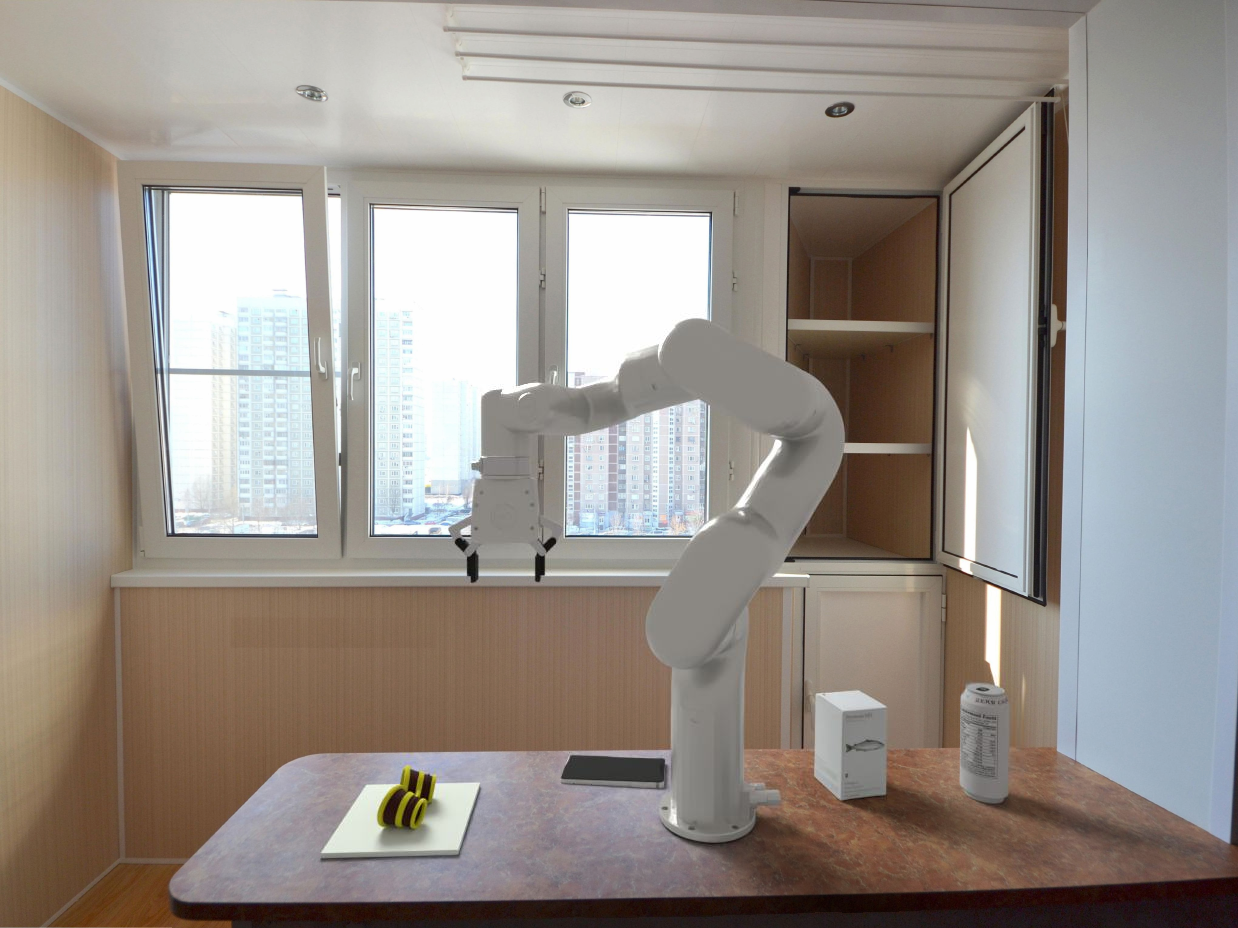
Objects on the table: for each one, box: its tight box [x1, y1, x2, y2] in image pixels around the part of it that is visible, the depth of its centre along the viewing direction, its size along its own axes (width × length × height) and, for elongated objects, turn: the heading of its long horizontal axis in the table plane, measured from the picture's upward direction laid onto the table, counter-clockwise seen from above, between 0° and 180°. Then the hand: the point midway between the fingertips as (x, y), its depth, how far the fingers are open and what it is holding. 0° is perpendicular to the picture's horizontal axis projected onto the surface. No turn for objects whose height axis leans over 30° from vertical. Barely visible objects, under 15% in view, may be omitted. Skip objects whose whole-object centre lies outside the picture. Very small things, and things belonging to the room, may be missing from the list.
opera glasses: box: [377, 764, 438, 829], centre depth 86 cm, size 10×5×5 cm, turn 0°
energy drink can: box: [959, 681, 1011, 804], centre depth 92 cm, size 6×6×15 cm
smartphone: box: [560, 754, 666, 789], centre depth 98 cm, size 8×1×15 cm
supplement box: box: [813, 689, 888, 801], centre depth 94 cm, size 7×7×13 cm
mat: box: [320, 781, 481, 859], centre depth 86 cm, size 16×16×1 cm
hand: (506, 580), depth 100 cm, fingers open, 9 cm apart
